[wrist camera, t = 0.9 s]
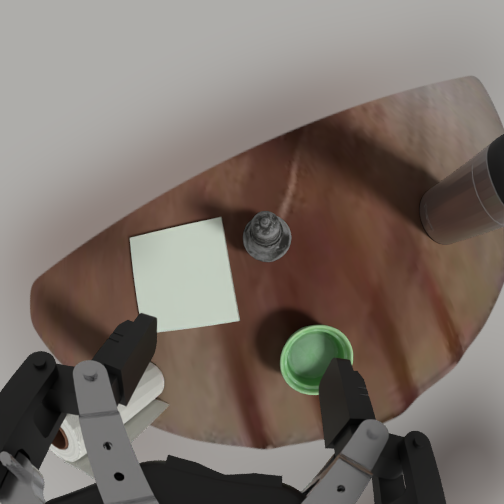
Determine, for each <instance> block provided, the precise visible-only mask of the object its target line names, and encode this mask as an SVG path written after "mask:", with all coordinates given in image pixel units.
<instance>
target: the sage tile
mask: <svg viewBox="0 0 504 504" xmlns="http://www.w3.org/2000/svg"><path fill="white" fill-rule="evenodd" d="M130 246H131V256H132V265H133V274H134V281H135V289H136V296H137V302H138V308H139V314H140V313H144V314H147V315H150V316H153V317H156V318H157V332H164V331H172V330H180V329H188V328H195V327H202V326H209V325H216V324H223V323H229V322H235V321H240V318H239V312H238V307H237V302H236V296H235V291H234V285H233V280H232V274H231V268H230V263H229V257H228V251H227V245H226V239H225V233H224V227H223V221H222V218H221V217H219V218H214V219H209V220H205V221H200V222H195V223H191V224H186V225H182V226H178V227H173V228H169V229H165V230H160V231H156V232H152V233H148V234H144V235H139V236H135V237H131V238H130Z"/></svg>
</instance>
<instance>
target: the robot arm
mask: <svg viewBox="0 0 504 504" xmlns="http://www.w3.org/2000/svg"><path fill="white" fill-rule="evenodd" d="M420 218H421V222H422V224H423V227H424V229H425V231H426V232H427V234H428V235H429V236H430V237H431V238H432V239H433V240H434V241H436V242H438V243H440V244H443V245H449V244H452V243H456V242H459V241H462V240H466V239H469V238H472V237H475V236H478V235H481V234H484V233H487V232H490V231H493V230H496V229H499V228H502V227H504V134H503V135H501V136H500V137H498V138H497V139H496V140H494V141H493V142H492V143H491V144H490V145H488V146H487V147H486V148H484V149H483V150H482V151H481V152H479V153H478V154H477V155H476V156H474V157H473V158H472V159H470V160H469V161H468V162H466V163H465V164H464V165H462V166H461V167H460V168H458V169H457V170H456V171H454V172H453V173H452V174H450V175H449V176H447V177H446V178H445V179H443V180H442V181H441V182H439V183H438V184H436V185H435V186H434V187H432V188H431V189H429V190H428V191H427V192H426V193H425V194H424V195H423V197H422V199H421V202H420ZM156 344H157V318H156V317H153V316H150V315H147V314H144V313H140V314H139V315H138V317H137V318H136V319H135V321H134V322H132V321H129V320H127V321H125V322H123V323H121V324H119V325H118V326H117V328H116V329H115V330H114V332H113V333H112V334H111V335H110V337H109V339H107V340H106V342H105V343H104V344H103V346H102V347H101V348H100V350H99V351H98V352H97V353H96V355H95V356H94V357H93V359H92V360H87V361H83V362H80V363H79V364H77V365H76V366H75V367H73V366H66V365H61V364H56V362H55V359H54V357H53V356H52V355H51V354H49V353H47V352H42V351H39V352H35V353H32V354H31V355H29V356H28V357H27V359H26V360H25V361H24V363H23V364H22V365H21V366H20V367H19V369H18V370H17V371H16V372H15V374H14V375H13V376H12V377H11V379H10V380H9V381H8V383H7V384H6V385H5V386H4V388H3V389H2V391H1V392H0V503H1V504H355V503H356V502H357V500H358V499H359V497H360V496H361V494H362V492H363V491H364V489H365V488H366V486H367V484H368V482H369V481H370V479H371V478H372V483H373V492H374V502H375V504H446V501H445V497H444V492H443V488H442V484H441V479H440V476H439V472H438V468H437V465H436V461H435V457H434V454H433V451H432V448H431V444H430V441H429V439H428V438H427V436H426V435H424V434H423V433H421V432H419V431H411V432H409V433H408V434H407V435H406V436H405V437H401V436H397V435H393V434H390V433H388V430H387V428H386V426H385V425H384V424H383V423H381V422H379V421H377V420H376V419H375V415H374V412H373V408H372V405H371V401H370V398H369V396H368V391H367V389H366V385H365V382H364V379H363V378H362V376H361V375H360V374H359V373H358V371H353V368H352V364H351V361H350V360H349V359H342V358H335V357H334V358H333V359H332V360H331V362H330V364H329V366H328V367H327V369H326V371H325V373H324V375H323V377H322V379H321V381H320V384H319V399H320V407H321V415H322V423H323V431H324V440H325V448H334V450H335V454H334V455H333V456H332V457H331V458H330V459H329V461H328V462H327V463H326V464H325V466H324V467H323V468H322V469H321V470H320V472H319V473H318V474H317V475H316V476H315V478H314V479H313V480H312V481H311V482H310V483H309V484H308V485H307V486H306V487H305V488H304V489H303V490H302V491H301V492H300V491H299V490H297V489H295V488H294V487H292V486H290V485H287V484H285V483H282V476H275V475H265V474H257V473H252V474H235V475H224V474H221V473H219V472H216V471H214V470H212V469H210V468H207V467H205V466H203V465H201V464H199V463H196V462H193V461H188V460H185V459H181V458H178V457H174V456H171V455H168V457H167V460H166V461H161V460H160V461H147V462H142V463H138V460H137V458H136V455H135V453H134V450H133V448H132V445H131V443H130V440H129V438H128V435H127V432H126V429H125V427H124V424H123V421H122V418H121V415H120V412H119V411H118V409H117V406H118V404H121V405H124V406H126V407H127V405H128V403H129V401H130V399H131V397H132V395H133V393H134V391H135V389H136V387H137V385H138V383H139V382H140V380H141V378H142V376H143V374H144V372H145V370H146V368H147V366H148V365H149V363H150V361H151V359H152V357H153V355H154V353H155V349H156ZM67 414H73V415H78V416H79V423H80V427H81V432H82V436H83V440H84V444H85V448H86V451H87V455H88V458H89V462H90V465H91V468H92V471H93V475H94V478H95V480H96V483H94V484H92V485H90V486H87V487H84V488H82V489H80V490H77V491H74V492H71V493H69V494H66V495H63V496H60V497H57V498H54V499H51V500H49V501H47V502H45V500H44V496H43V489H44V479H43V476H42V474H41V473H40V472H39V468H40V466H41V464H42V462H43V460H44V458H45V456H46V454H47V452H48V450H49V448H50V446H51V444H52V442H53V440H54V438H55V436H56V434H57V432H58V430H59V428H60V426H61V425H62V423H63V421H64V419H65V417H66V415H67ZM403 474H404V480H405V485H406V489H405V485H404V480H403Z"/></svg>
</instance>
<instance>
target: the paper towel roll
mask: <svg viewBox="0 0 504 504" xmlns="http://www.w3.org/2000/svg"><path fill="white" fill-rule="evenodd" d="M163 388H164V378H163V375H162V372H161V371H160V370H159V368H158V367H157V366H156V365H154V364H153V363H151V362H150V363H149V365H148V366H147V368H146V370H145V372H144V374H143V376H142V378H141V380H140V382H139V383H138V385H137V387H136V389H135V391H134V393H133V395H132V397H131V399H130V401H129V403H128V405H127V407H126V406H124V405H121V404H118V406H117V409H118V411H119V412H120V415H121V418H122V421H123V424H124V427H125V429H126V432H127V435H128V438H129V440H130V443H132V442H133V441H134V440H135V439H136V438H137V437H138V436H139V435H140V434H141V433H142V432H143V431H144V430H145V429H146V428H147V427H148V426H149V425H150V424H151V423H152V422H153V421H154V420H155V419H156V418H157V417H158V416H159V415H160V414H161V413H162V412H163V411H164V410H165V409H166V408H167V407H168V406H169V405H168V404H167V403H165V402H163V401H160V400H155V398H156V397H157V396H158V395H160V394H161V392H162V390H163ZM49 449H50V450H51V451H52V452H53V453H54V454H55V455H57V456H58V457H59V458H60V459H61V460H63V461H64V462H65V463H67V464H69V465H71V466H73V467H75V468H77V469H79V470H81V471H82V472H84V473H86V474H87V475H89V476H90V477H91V478H92V479H93V478H94V475H93V471H92V468H91V465H90V462H89V458H88V455H87V451H86V448H85V444H84V440H83V436H82V432H81V427H80V423H79V416H78V415H73V414H67V415H66V417H65V419H64V421H63V423H62V425H61V426H60V428H59V430H58V432H57V434H56V436H55V438H54V440H53V442H52V444H51V446H50V448H49Z"/></svg>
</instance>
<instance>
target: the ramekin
mask: <svg viewBox="0 0 504 504" xmlns="http://www.w3.org/2000/svg"><path fill="white" fill-rule="evenodd" d="M334 357H335V358H342V359H349V360H350V361H351V364H352V363H353V351H352V347H351V344H350V342H349V340H348V339H347V337H346V336H345V335H344V334H343V333H342V332H340V331H339V330H337V329H336V328H333V327H331V326H327V325H311V326H306V327H303V328H301V329H299V330H297V331H296V332H294V333H293V334H292V335H291V336H290V337H289V339H288V340H287V342H286V344H285V345H284V347H283V350H282V353H281V357H280V369H281V373H282V376H283V378H284V379H285V381H286V382H287V384H288V385H289V386H290V387H292V388H293V389H295V390H296V391H298V392H301V393H304V394H309V395H319V384H320V381H321V379H322V377H323V375H324V373H325V371H326V369H327V367H328V366H329V364H330V362H331V360H332V359H333V358H334Z"/></svg>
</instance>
